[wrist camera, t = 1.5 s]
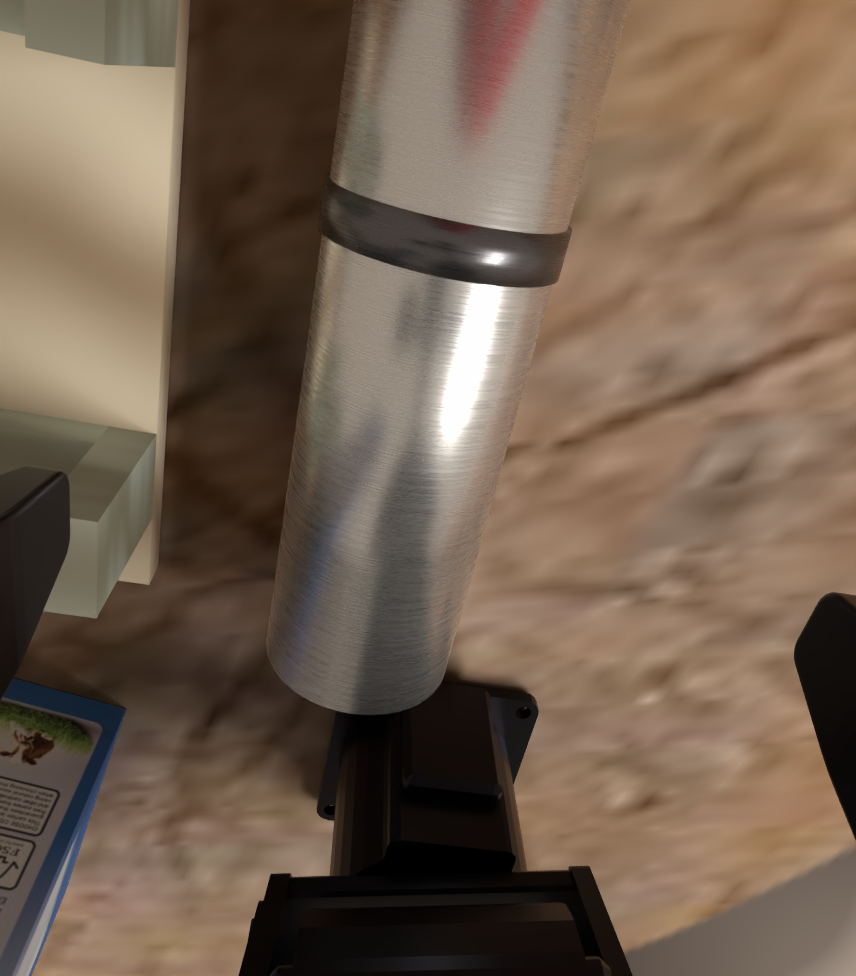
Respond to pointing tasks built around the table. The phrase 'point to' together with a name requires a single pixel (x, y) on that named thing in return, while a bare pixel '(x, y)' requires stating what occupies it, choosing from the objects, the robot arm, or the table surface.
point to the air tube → (425, 325)
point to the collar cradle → (91, 268)
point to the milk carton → (44, 806)
